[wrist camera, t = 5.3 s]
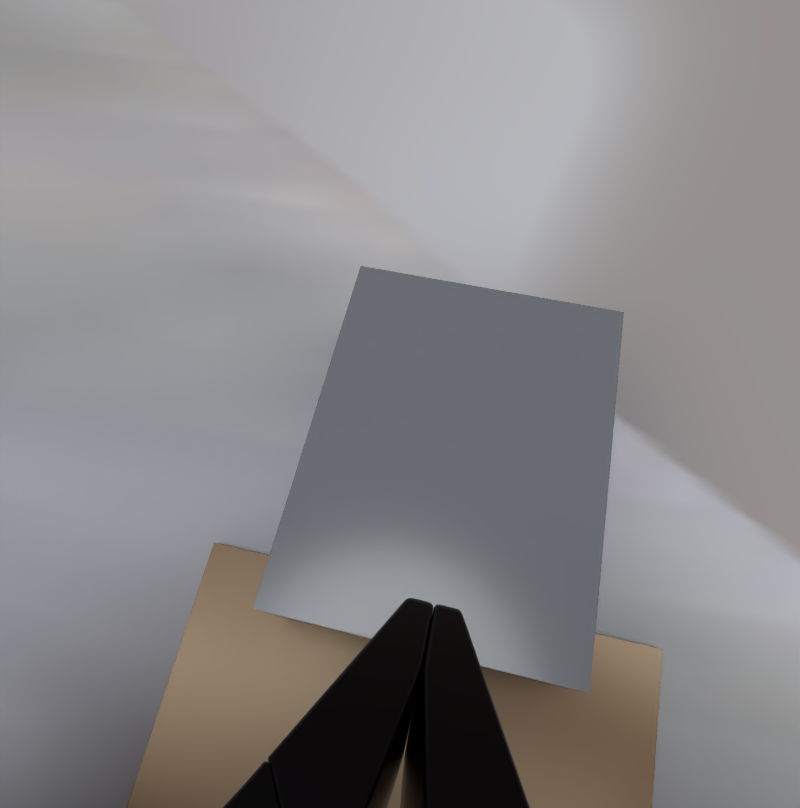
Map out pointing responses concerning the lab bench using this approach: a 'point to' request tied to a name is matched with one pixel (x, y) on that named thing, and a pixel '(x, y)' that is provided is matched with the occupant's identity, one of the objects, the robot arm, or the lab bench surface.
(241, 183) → the lab bench surface
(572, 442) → the thick grey slab block
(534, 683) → the cork mat
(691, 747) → the lab bench surface
